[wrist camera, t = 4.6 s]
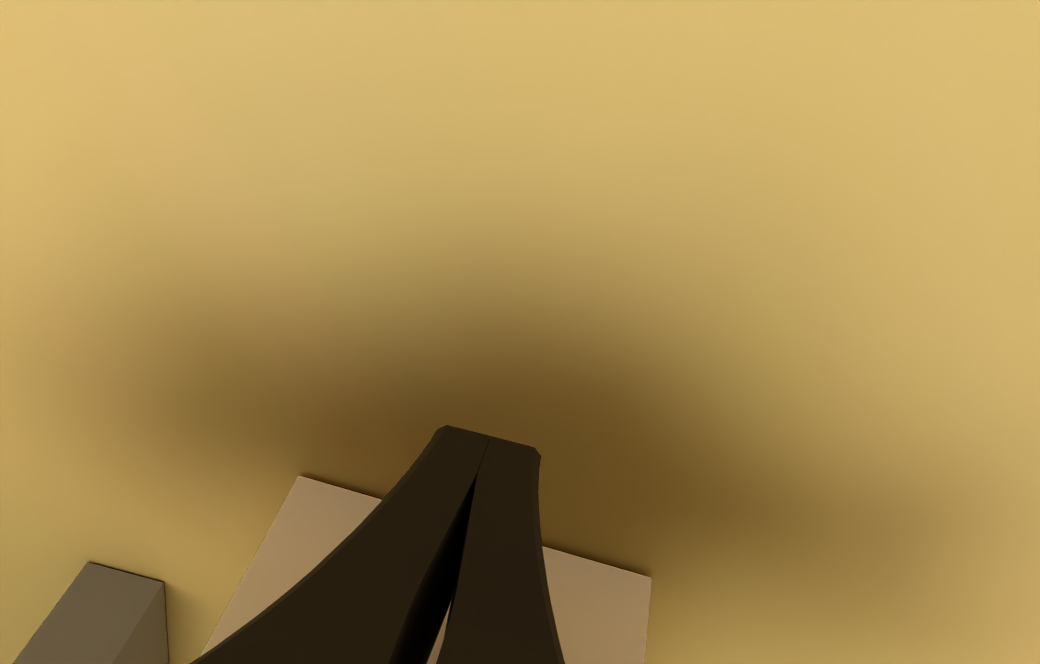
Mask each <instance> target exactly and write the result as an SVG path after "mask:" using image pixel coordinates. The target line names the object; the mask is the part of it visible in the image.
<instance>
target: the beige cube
mask: <svg viewBox="0 0 1040 664" xmlns="http://www.w3.org/2000/svg"><path fill="white" fill-rule="evenodd" d="M381 501H382V499H378V498H375V497H371V496H368V495H364V494H361V493H357V492H354V491H350V490H347V489H344V488H340V487H337V486H333V485H330V484H326V483H323V482H319V481H316V480H313V479H309V478H306V477H302V476H299V475H298V477H297V479H296V481H295V482H294V484H293V486H292V488H291V490H290V492H289V493H288V495H287V497H286V499H285V501H284V503H283V505H282V506H281V508H280V510H279V512H278V514H277V516H276V517H275V519H274V521H273V523H272V525H271V527H270V528H269V530H268V532H267V534H266V536H265V538H264V539H263V541H262V543H261V545H260V547H259V549H258V550H257V552H256V554H255V556H254V558H253V560H252V562H251V563H250V565H249V567H248V569H247V571H246V573H245V574H244V576H243V578H242V580H241V582H240V584H239V585H238V587H237V589H236V591H235V593H234V595H233V596H232V598H231V600H230V602H229V604H228V606H227V607H226V609H225V611H224V613H223V615H222V617H221V619H220V620H219V622H218V624H217V626H216V628H215V630H214V631H213V633H212V635H211V637H210V639H209V641H208V642H207V644H206V646H205V648H204V650H203V652H202V653H201V655H200V656H202V655H203V654H205V653H206V652H208V651H209V650H211V649H212V648H214V647H215V646H216V645H218V644H219V643H220V642H222V641H223V640H224V639H226V638H227V637H229V636H230V635H231V634H233V633H234V632H235V631H237V630H238V629H240V628H241V627H242V626H244V625H245V624H246V623H248V622H249V621H250V620H252V619H253V618H254V617H256V616H257V615H258V614H260V613H261V612H262V611H263V610H265V609H266V608H267V607H268V606H270V605H271V604H272V603H273V602H275V601H276V600H277V599H278V598H280V597H281V596H282V595H283V594H285V593H286V592H287V591H288V590H289V589H291V588H292V587H293V586H294V585H295V584H296V583H298V582H299V581H300V580H301V579H302V578H303V577H304V576H306V575H307V574H308V573H309V572H310V571H311V570H312V569H314V568H315V567H316V566H317V565H318V564H319V563H320V562H321V561H322V560H323V559H324V558H325V557H326V556H327V555H328V554H330V553H331V552H332V551H333V550H334V549H335V548H336V547H337V546H338V545H339V544H340V543H341V542H342V541H343V540H344V539H345V538H346V537H347V536H348V535H350V534H351V533H352V532H353V531H354V530H355V529H356V528H357V527H358V526H359V525H360V524H361V523H362V521H363V520H364V519H365V518H366V517H367V516H368V515H369V514H370V513H371V512H372V511H373V510H374V509H375V507H376V506H377V505H378V504H379V503H380V502H381ZM542 548H543V555H544V562H545V569H546V576H547V583H548V588H549V594H550V599H551V605H552V610H553V614H554V619H555V623H556V628H557V633H558V637H559V641H560V645H561V650H562V654H563V658H564V661H565V664H645V657H646V645H647V633H648V620H649V608H650V596H651V583H652V578H651V577H647V576H644V575H640V574H637V573H633V572H630V571H627V570H623V569H620V568H616V567H613V566H609V565H606V564H602V563H599V562H595V561H592V560H589V559H585V558H582V557H578V556H575V555H571V554H568V553H564V552H561V551H558V550H554V549H551V548H547V547H544V546H542ZM450 603H451V602H450ZM449 608H450V606H449ZM448 613H449V609H448V611H447V614H446V616H445V619H444V621H443V624H442V626H441V629H440V631H439V634H438V636H437V639H436V641H435V644H434V647H433V649H432V652H431V654H430V657H429V659H428V662H427V664H436V662H437V659H438V655H439V652H440V649H441V646H442V643H443V640H444V634H445V629H446V624H447V619H448Z"/></svg>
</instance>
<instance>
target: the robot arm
mask: <svg viewBox="0 0 1040 664" xmlns="http://www.w3.org/2000/svg"><path fill="white" fill-rule="evenodd" d="M540 460H541V455H540V454H539V453H538V451H537V450H536V448H534V447H530V446H527V445H523V444H519V443H515V442H511V441H507V440H503V439H499V438H495V437H490V436H488V435H484V434H480V433H476V432H472V431H468V430H464V429H460V428H456V427H453V426H449V425H446V426H444V427H442V428H439V429H437V431H436V433H435V434H434V436H433V437H432V439H431V441H430V442H429V444H428V445H427V446H426V448H425V449H424V451H423V452H422V453H421V455H420V456H419V457H418V459H417V460H416V461H415V462H414V464H413V465H412V466H411V467H410V469H409V470H408V471H407V472H406V474H405V475H404V476H403V477H402V478H401V480H400V481H399V482H398V483H397V484H396V485H395V487H394V488H393V489H392V490H391V491H390V492H389V493H388V494H387V496H386V497H385V498H384V499H383V500H382V501H381V502H380V503H379V504H378V505H377V506H376V507H375V509H374V510H373V511H372V512H371V513H370V514H369V515H368V516H367V517H366V518H365V519H364V520H363V521H362V523H361V524H360V525H359V526H358V527H357V528H356V529H355V530H354V531H353V532H352V533H351V534H350V535H348V536H347V537H346V538H345V539H344V540H343V541H342V542H341V543H340V544H339V545H338V546H337V547H336V548H335V549H334V550H333V551H332V552H331V553H330V554H328V555H327V556H326V557H325V558H324V559H323V560H322V561H321V562H320V563H319V564H318V565H317V566H316V567H315V568H314V569H312V570H311V571H310V572H309V573H308V574H307V575H306V576H304V577H303V578H302V579H301V580H300V581H299V582H298V583H296V584H295V585H294V586H293V587H292V588H291V589H289V590H288V591H287V592H286V593H285V594H283V595H282V596H281V597H280V598H278V599H277V600H276V601H275V602H273V603H272V604H271V605H270V606H268V607H267V608H266V609H265V610H263V611H262V612H261V613H260V614H258V615H257V616H256V617H254V618H253V619H252V620H250V621H249V622H248V623H246V624H245V625H244V626H242V627H241V628H240V629H238V630H237V631H235V632H234V633H233V634H231V635H230V636H229V637H227V638H226V639H224V640H223V641H222V642H220V643H219V644H218V645H216V646H215V647H214V648H212V649H211V650H209V651H208V652H206V653H205V654H203V655H202V656H200V657H199V658H198V659H196V660H195V661H193V662H192V663H190V664H427V662H428V659H429V657H430V654H431V652H432V649H433V647H434V644H435V641H436V639H437V636H438V634H439V631H440V629H441V626H442V624H443V621H444V619H445V616H446V614H447V611H448V609H449V613H448V619H447V624H446V629H445V634H444V640H443V643H442V646H441V649H440V652H439V655H438V659H437V662H436V664H565V661H564V658H563V654H562V650H561V645H560V641H559V637H558V633H557V628H556V623H555V619H554V614H553V610H552V605H551V599H550V594H549V588H548V583H547V576H546V569H545V562H544V555H543V548H542V540H541V531H540V518H539V499H538V480H539V466H540ZM450 602H451V603H450ZM449 606H450V608H449Z"/></svg>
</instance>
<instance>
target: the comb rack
mask: <svg viewBox="0 0 1040 664" xmlns="http://www.w3.org/2000/svg"><path fill="white" fill-rule="evenodd" d="M13 664H169V662H168V645H167V629H166V613H165V597H164V583H163V582H159V581H155V580H152V579H148V578H144V577H141V576H137V575H133V574H129V573H126V572H122V571H118V570H115V569H111V568H107V567H103V566H100V565H96V564H92V563H89V562H87V564H86V565H85V566H84V568H83V569H82V571H81V572H80V573H79V575H78V576H77V577H76V579H75V580H74V581H73V583H72V584H71V585H70V587H69V588H68V589H67V591H66V592H65V594H64V595H63V596H62V598H61V599H60V600H59V602H58V603H57V604H56V606H55V607H54V608H53V610H52V611H51V612H50V614H49V615H48V617H47V618H46V619H45V621H44V622H43V623H42V625H41V626H40V627H39V629H38V630H37V631H36V633H35V634H34V635H33V637H32V638H31V640H30V641H29V642H28V644H27V645H26V646H25V648H24V649H23V650H22V652H21V653H20V654H19V656H18V657H17V659H16V660H15V661H14V663H13Z"/></svg>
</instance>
